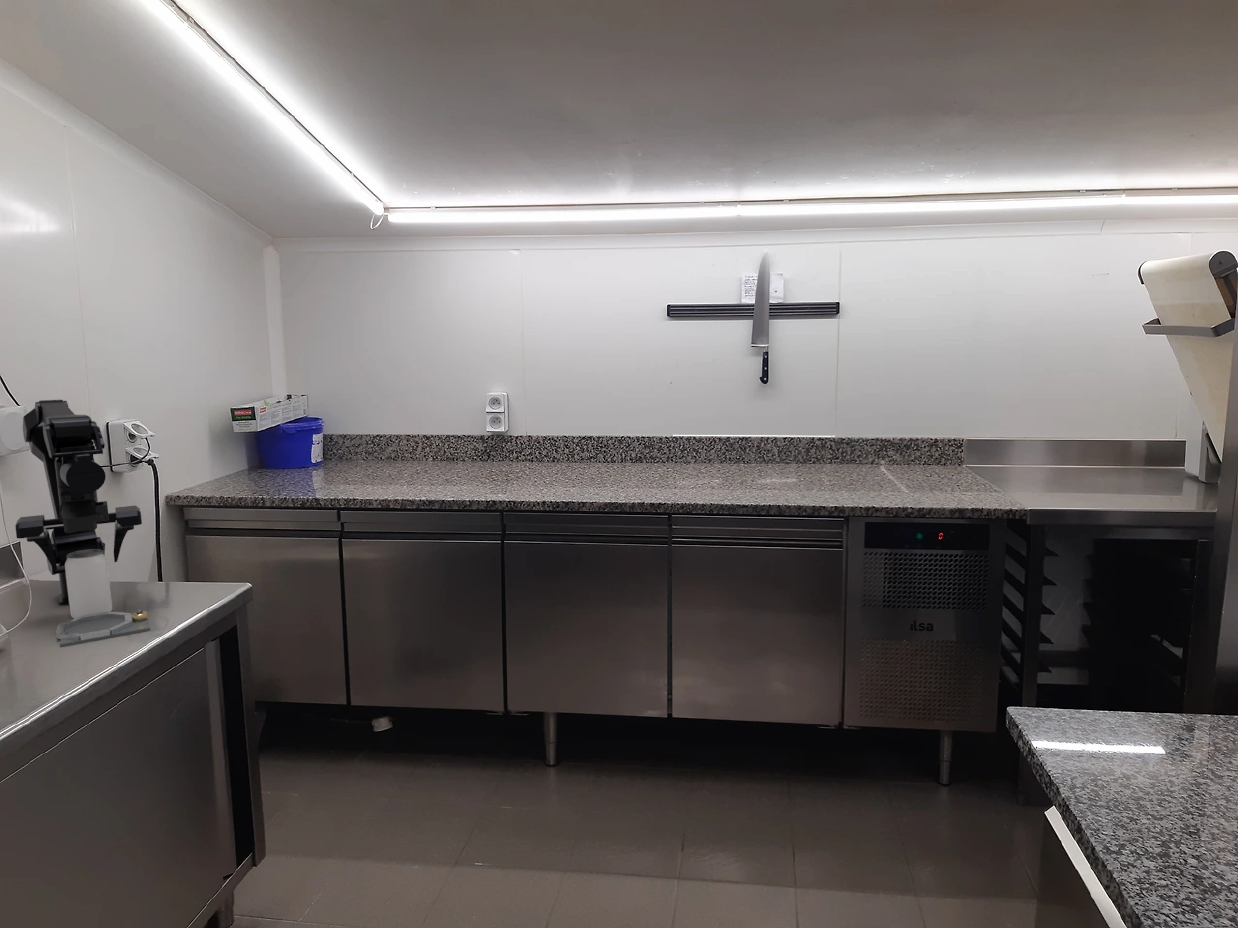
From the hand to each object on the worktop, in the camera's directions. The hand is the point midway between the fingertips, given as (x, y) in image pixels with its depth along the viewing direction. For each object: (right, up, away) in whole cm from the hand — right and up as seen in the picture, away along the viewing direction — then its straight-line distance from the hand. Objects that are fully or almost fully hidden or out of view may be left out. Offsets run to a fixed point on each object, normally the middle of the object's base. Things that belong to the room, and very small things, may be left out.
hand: (86, 565), depth 140 cm
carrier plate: (+8, -11, -6) cm, 14 cm away
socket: (+6, -11, -6) cm, 14 cm away
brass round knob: (+12, -10, -2) cm, 16 cm away
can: (0, -10, +2) cm, 10 cm away
